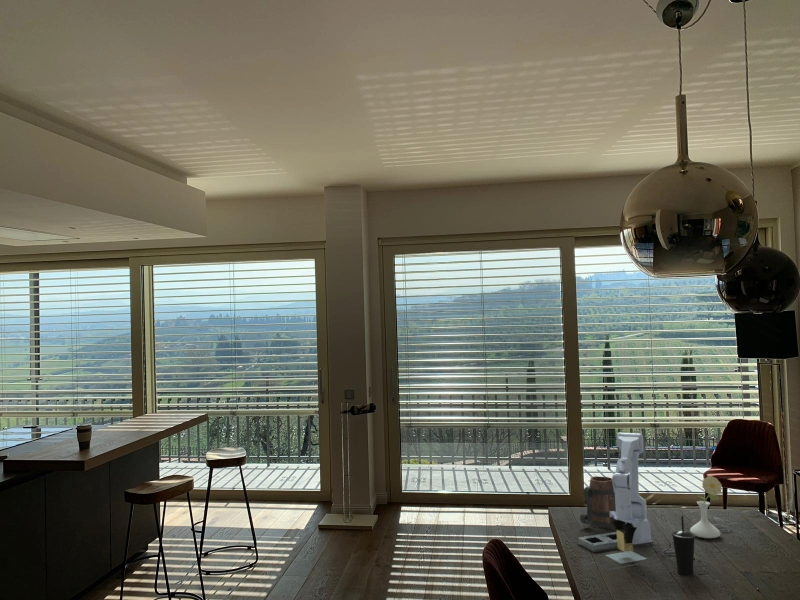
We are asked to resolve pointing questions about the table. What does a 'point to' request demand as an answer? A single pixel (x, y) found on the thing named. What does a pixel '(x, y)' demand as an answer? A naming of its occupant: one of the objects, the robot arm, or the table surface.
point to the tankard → (599, 502)
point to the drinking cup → (684, 550)
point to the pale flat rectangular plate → (626, 557)
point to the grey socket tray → (599, 542)
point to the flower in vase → (704, 526)
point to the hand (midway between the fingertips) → (625, 541)
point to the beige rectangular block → (623, 541)
